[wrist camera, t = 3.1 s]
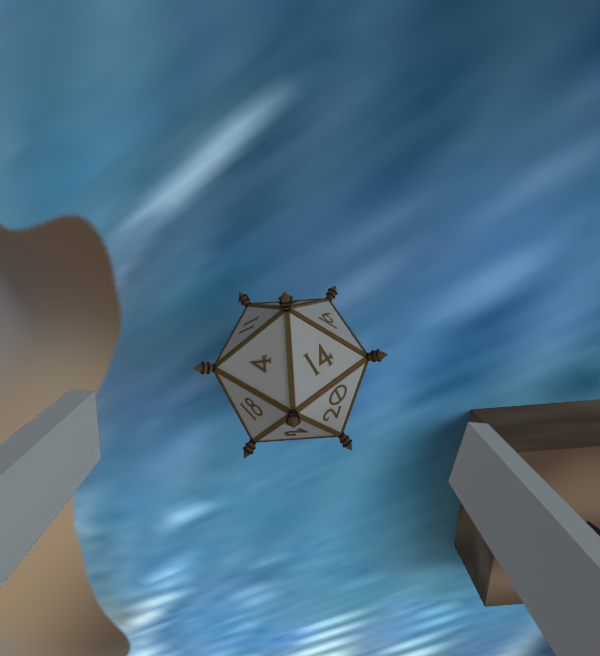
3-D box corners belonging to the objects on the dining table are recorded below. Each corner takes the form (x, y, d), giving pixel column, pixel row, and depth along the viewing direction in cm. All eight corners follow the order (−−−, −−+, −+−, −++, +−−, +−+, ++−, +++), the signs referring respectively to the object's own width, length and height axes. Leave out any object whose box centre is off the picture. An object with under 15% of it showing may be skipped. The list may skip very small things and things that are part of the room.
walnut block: (468, 406, 24) (512, 452, 19) (655, 392, 24) (744, 435, 19) (452, 542, 29) (484, 606, 24) (609, 529, 29) (672, 591, 24)
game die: (271, 238, 19) (252, 260, 10) (383, 310, 21) (460, 389, 11) (203, 355, 22) (135, 464, 12) (309, 411, 23) (322, 545, 14)
